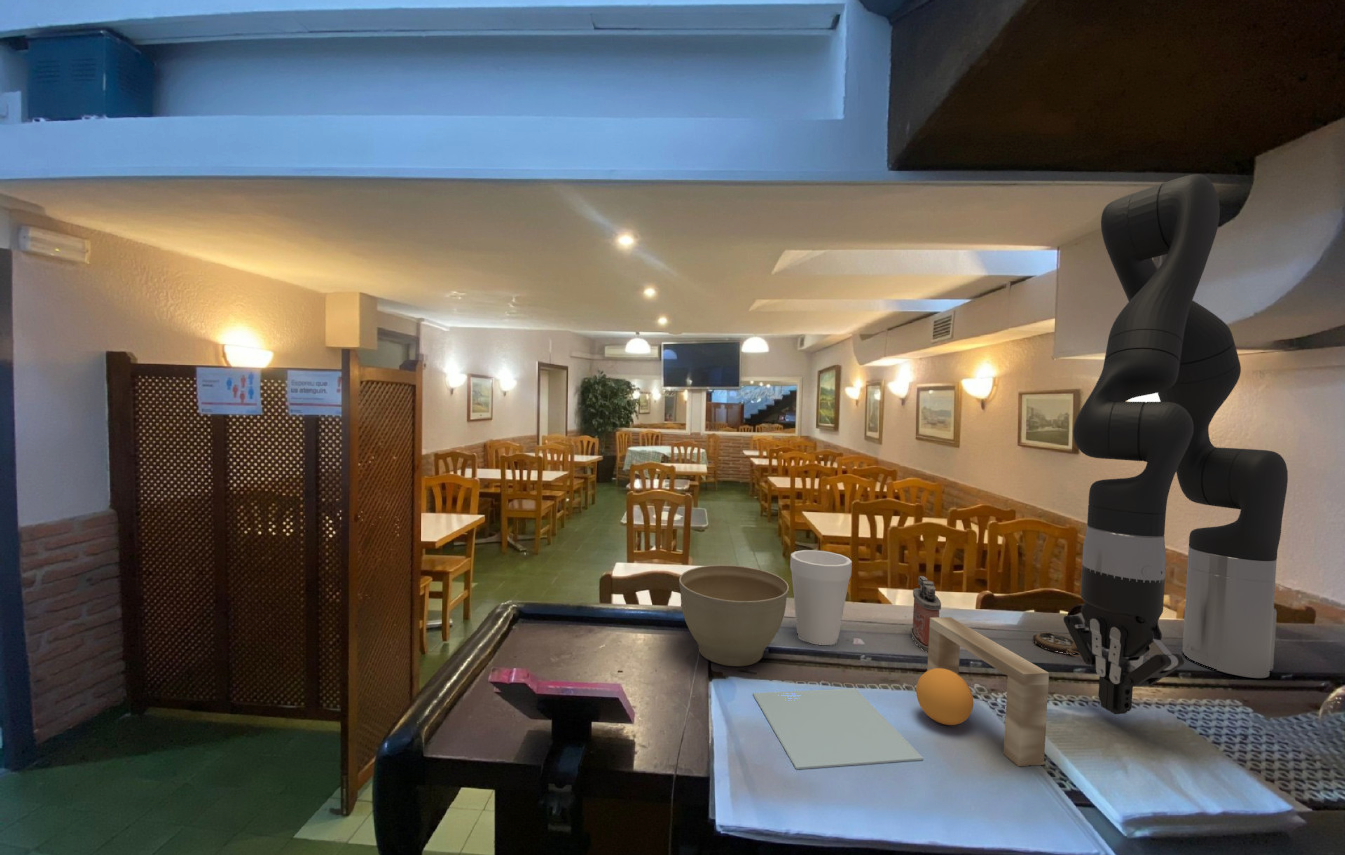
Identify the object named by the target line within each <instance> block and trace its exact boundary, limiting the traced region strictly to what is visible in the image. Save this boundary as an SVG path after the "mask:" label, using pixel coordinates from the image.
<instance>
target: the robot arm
mask: <svg viewBox="0 0 1345 855" xmlns="http://www.w3.org/2000/svg"><path fill="white" fill-rule="evenodd" d="M1220 206H1221V205H1220V200H1219V196H1218V193H1217V189H1216V187H1215V186H1214V184H1213V182H1212V181H1211V180H1210V179H1209V178H1208V177H1207V176H1206V175H1203V174H1200V173H1196V174H1189V175H1185V176H1181V177H1178V178H1175V179H1171V180H1168V181H1166V182H1163V183H1159V184H1157V185H1155V186H1151V187H1147V188H1145V189H1142V190H1139V191H1136V192H1134V193H1131V194H1127V195H1124V196H1123V197H1119V198H1117V199H1115V200H1113V201H1111V202H1109V203H1107V205H1106V206H1105V207H1104V208H1103V211H1102V214H1101V217H1100V227H1101V236H1102V238H1103V243H1104V246H1105V250H1106V252H1107V254H1108V257H1109V260H1110V262H1111V264H1112V266H1113V268H1114V271H1115V273H1116V276H1117V278H1118V279H1119V282H1120V284H1121V287H1122V289H1123V291H1124V294H1125V297H1126V298H1127V301H1128V302H1127V303H1126V305H1125V306H1124V307H1122V310H1121V311H1120V312H1119V313H1118V315H1117V316H1116V318H1115V320H1114V321H1113V323H1112V326H1111V328H1110V330H1109V335H1108V339H1107V345H1106V350H1105V355H1104V360H1103V366H1102V370H1101V372H1100V375H1099V378H1098V380H1097V381H1096V384H1095V386H1094V387H1093V389H1092V391H1091V393H1090V394H1089V396H1088V398H1086V400H1085V401H1084V403H1083V405H1082V407H1081V409H1080V410H1079V413H1078V414H1077V417H1076V419H1075V420H1074V425H1073V430H1072V432H1073V434H1072V435H1073V436H1072V437H1073V440H1074V443H1075V445H1076V447H1077V448H1078V450H1079V451H1080V452H1081V453H1082V454H1083V455H1085V456H1087V457H1090V458H1095V459H1103V460H1116V461H1117V460H1118V461H1134V462H1145V463H1146V466H1145V468H1144V470H1143V471H1142V472H1141V473H1139V474H1138V475H1135V476H1131V477H1125V478H1124V477H1121V478H1109V479H1108V478H1106V479H1100V480H1096V481H1094V482H1092V484H1091V485H1090V487H1089V493H1088V506H1087V520H1086V521H1087V522H1086V523H1087V526H1086V532H1085V537H1084V540H1083V545H1082V546H1083V547H1082V548H1083V550H1082V566H1081V580H1080V581H1081V584H1080V597H1081V599H1082V601H1084V603H1083V604H1084V605H1083V606H1082V608H1081V613H1079V614H1076V615H1071V616H1067V615H1065V616H1064V617H1063V622H1064V624H1065V626H1066V629H1067V631H1068V633H1069V636H1070V637H1071V639H1072V640H1073V641H1074V643H1075V645H1076V647H1077V649H1078V651H1079V653H1080V654H1079V655H1081V656H1080V657H1081V658H1082V661H1083V663H1085V665H1090V666H1092V667H1093V668H1094V669H1095V671H1096V674H1097V675H1098V678H1099V680H1098V694H1097V696H1098V698H1099V701H1100V707H1102V708H1103V709H1105V710H1106V711H1109V712H1110V713H1111V714H1113V715H1126V714H1127V713H1128V712H1130V711H1131V710H1132V707H1133V690H1134V689H1133V688H1134V687H1148V686H1150V687H1151V686H1153V685H1154V684H1156V683H1157V682H1159V681H1160V680H1162V679H1164V678H1165V677H1167V676H1168V675H1170V674H1171V673H1173V672H1174V671H1176V670H1177V669H1179V668H1181V666H1183V665H1184V663H1185V660H1184V658H1183V656H1182V655H1181V654H1178V653H1172V652H1171V651H1170V650H1169V649H1168V648H1167V646H1165V644H1164V643H1163V641H1162V640H1163V634H1162V631H1161V629H1160V627H1159V620H1160V618H1161V616H1162V614H1163V612H1164V604H1165V603H1164V600H1165V599H1164V598H1165V585H1166V567H1167V566H1166V564H1167V552H1166V551H1167V550H1166V542H1165V540H1166V539H1165V531H1166V530H1165V528H1166V516H1167V515H1166V513H1167V506H1168V498H1169V493H1170V490H1171V487H1172V483H1173V482H1174V477H1175V474H1176V478H1177V481H1178V484H1179V487H1180V489H1181V492H1182V493H1183V495H1184V496H1185V497H1186V498H1187V499H1188V500H1189V501H1190V502H1193V503H1196V504H1199V505H1205V506H1212V507H1217V508H1218V507H1219V508H1225V509H1227V508H1228V509H1233V510H1234V509H1235V510H1240V512H1239V515H1238V518H1237V519H1236V520H1235V521H1233V522H1230V523H1227V524H1224V525H1219V526H1218V525H1217V526H1208V527H1207V526H1206V527H1199V528H1194V529H1193V530H1191V531H1190V532H1189V538H1188V552H1187V569H1186V570H1187V571H1186V583H1185V584H1186V586H1185V601H1184V616H1183V617H1184V618H1183V619H1184V620H1183V621H1184V622H1183V636H1182V651H1183V652H1184V653H1185V654H1186V655H1188V656H1189V657H1190V658H1192V659H1193V660H1196V661H1197V662H1199V663H1201V664H1203V665H1206V666H1209V667H1212V668H1214V669H1217V670H1216V671H1217V672H1218V671H1219V672H1221V673H1225V674H1229V675H1235V676H1239V677H1245V678H1253V679H1265V678H1269V677H1270V672H1269V671H1270V669H1273V670H1274V658H1275V644H1276V630H1277V614H1278V612H1277V609H1276V608H1275V594H1276V593H1275V591H1276V576H1277V562H1278V561H1277V559H1278V550H1279V545H1280V542H1281V534H1282V524H1283V515H1284V509H1285V503H1286V502H1285V501H1286V496H1287V490H1288V483H1289V482H1288V481H1289V480H1288V479H1289V478H1288V476H1289V475H1288V472H1289V471H1288V467H1287V463H1286V460H1285V459H1284V458H1283V457H1282V455H1281V454H1279V453H1278V452H1276V451H1273V450H1266V449H1265V450H1264V449H1254V448H1253V449H1252V448H1235V447H1234V448H1233V447H1216V446H1214V444H1212V442H1211V439H1210V434H1209V433H1210V431H1209V426H1210V424H1211V422H1212V420H1213V418H1214V416H1215V415H1216V413H1217V412H1218V410H1220V407H1221V406H1222V405H1223V404H1224V402H1226V400H1227V399H1228V397H1229V396H1230V395H1231V393H1232V392H1233V390H1234V389H1235V387H1236V385H1237V384H1238V383H1239V382H1238V381H1239V379H1240V376H1241V373H1242V367H1241V362H1240V358H1239V355H1238V354H1239V353H1238V351H1237V347H1236V343H1235V340H1234V337H1233V332H1232V331H1231V329H1230V327H1229V326H1228V325H1227V324H1226V323H1225V321H1223V319H1221V318H1220V317H1218V316H1217V315H1216V314H1215V313H1213V312H1212V311H1210V310H1209V309H1207V308H1206V307H1204V306H1202V305H1201V304H1200V303H1198V302H1197V301H1196V300H1193V299H1194V297H1195V294H1196V292H1197V288H1198V286H1199V283H1200V281H1201V279H1202V276H1203V273H1204V270H1205V268H1206V265H1207V262H1208V259H1209V256H1210V253H1211V250H1212V247H1213V245H1214V242H1215V239H1216V235H1217V231H1218V227H1219V223H1220V213H1221V212H1220V208H1221V207H1220ZM1161 256H1162V257H1163V256H1165V257H1164V260H1163V262H1162V263H1161V264H1160V265H1159V267H1157V266H1156V264H1155V261H1154V259H1153V258H1158V257H1161ZM1154 394H1157V395H1158V396H1157V397H1158V398H1159V399H1158V400H1159V401H1130V400H1132V399H1133V398H1138V397H1143V396H1149V395H1154ZM1128 400H1129V401H1128ZM1182 651H1181V652H1182ZM1145 654H1147V655H1145ZM1144 658H1145V659H1146V661H1145V662H1144ZM1203 665H1202V666H1203ZM1214 669H1213V670H1214Z"/></svg>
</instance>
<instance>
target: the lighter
mask: <svg viewBox="0 0 1345 855" xmlns="http://www.w3.org/2000/svg"><path fill="white" fill-rule="evenodd" d="M917 583H918V585H919V586H920V588H917V587H916V588H913V589H912V595H913V611H912V613H913V615H912V627H911V630H910V635H911V634H912V637H913V639H914V641H915V642H916V644H918V646H920V648H922V649H923V650H924V651H923V652H925V651H928V647H929V627H930V618H936V617H940V610H942V602H941V600H940V598H939V597H938V596H937V595H936V587H935V582H934V581H931V580H929V579H928V578H927V577H926V576H924V575H919V576H918V579H917ZM912 637H911V638H912ZM914 641H913V642H914ZM916 644H915V645H916ZM918 646H917V647H918ZM920 648H919V649H920Z"/></svg>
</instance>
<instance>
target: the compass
mask: <svg viewBox="0 0 1345 855" xmlns="http://www.w3.org/2000/svg"><path fill="white" fill-rule="evenodd" d="M1083 605H1084V603H1076V604H1074V605H1072V606H1071V607H1070V608H1069V609H1068V612H1067V615H1066V616H1071V615H1076V614H1079V613H1081V608H1082V606H1083ZM1032 641H1034V642H1035V643H1034V642H1033V643H1034V644H1035V645H1036V644H1038V645H1039V646H1042V647H1043V648H1047V649H1049V650H1051V651H1058V652H1063V653H1068V654H1070V653H1071V654H1070V655H1071V656H1073V657H1081V655H1080V653H1079V651H1078V649H1077V647H1076V645H1075V643H1074V641H1073V639H1072V638H1069V637H1067V636H1064V635H1061V634H1057V633H1053V632H1039V633H1037V634H1035V635H1033V637H1032ZM1039 646H1038V647H1039ZM1043 648H1042V649H1043ZM1051 651H1050V652H1051ZM1073 653H1078V654H1075V655H1073ZM1070 655H1069V656H1070Z"/></svg>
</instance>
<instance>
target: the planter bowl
mask: <svg viewBox="0 0 1345 855" xmlns="http://www.w3.org/2000/svg"><path fill="white" fill-rule="evenodd" d="M678 584H679V590H680V605H681V611H682V615H683V618H684V621H685V623H686V626H687V627H688V630H689V631H690V634H691V635H692V637H693V639H694V640H695V641H696V643H697V646H698V651H699V653H700V655H701V656H703V657H704V659H707V660H708V661H710V662H712V663H715V664H719V665H722V666H727V667H745V666H750V665H754V664H757V663H758V662H759V661H760V660H762V658H763V656H764V653H765V649H766V648H767V647H768V646H769V645H770V644H771V643H772V641H773V640H774V639H775V637H776V635H777V633H778V632H779V630H780V628H781V625H782V622H783V619H784V616H785V613H786V612H785V611H786V606H787V598H788V596H789V590H790V587H789V584H788V582H787V581H786V580H785V579H783V578H782V577H781V576H779V575H777V574H774V573H772V572H769V571H767V570H762V569H760V568H759V569H758V568H753V567H748V566H742V565H732V564H715V565H713V564H712V565H704V566H703V565H702V566H698V567H693V568H690V569H688V570H686V571H684V572H683V573H681V575H680V576H679V579H678Z"/></svg>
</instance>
